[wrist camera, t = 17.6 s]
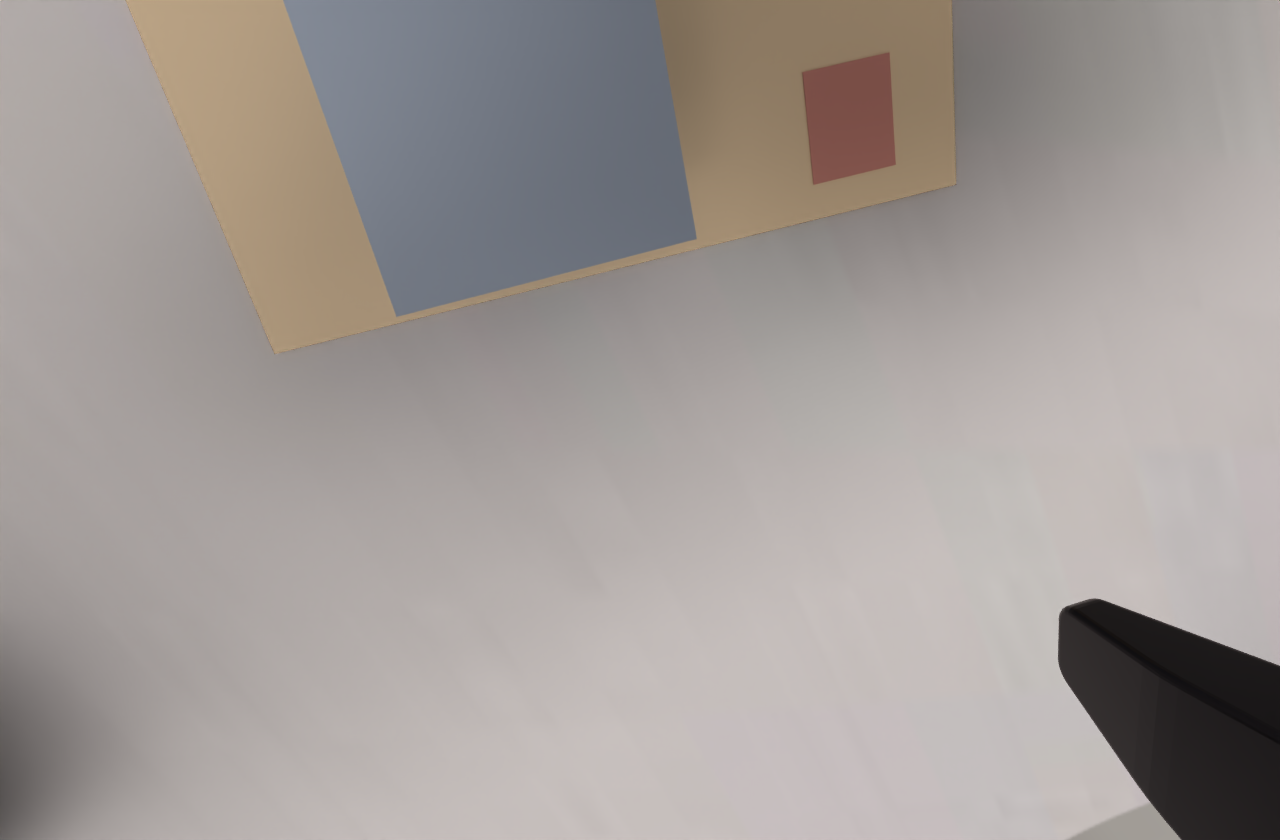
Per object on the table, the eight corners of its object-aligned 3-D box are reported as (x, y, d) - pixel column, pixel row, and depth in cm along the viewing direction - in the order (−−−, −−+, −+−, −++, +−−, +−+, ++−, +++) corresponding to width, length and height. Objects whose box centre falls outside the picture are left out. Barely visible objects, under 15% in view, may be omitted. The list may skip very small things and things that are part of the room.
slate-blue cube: (411, 247, 17) (396, 316, 13) (324, -13, 15) (270, -37, 11) (636, 190, 18) (696, 239, 13) (584, -70, 16) (634, -116, 11)
